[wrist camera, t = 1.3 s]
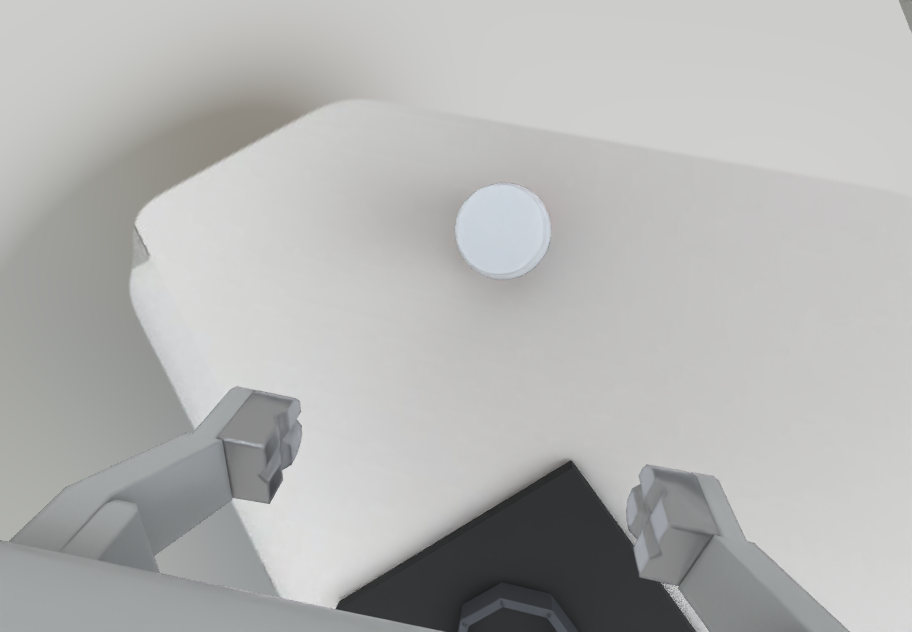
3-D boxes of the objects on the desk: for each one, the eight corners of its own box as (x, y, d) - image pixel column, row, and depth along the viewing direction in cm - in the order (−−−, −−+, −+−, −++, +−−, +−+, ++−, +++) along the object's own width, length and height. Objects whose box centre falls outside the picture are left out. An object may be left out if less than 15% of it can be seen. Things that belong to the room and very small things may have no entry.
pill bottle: (559, 216, 28) (574, 200, 20) (526, 287, 29) (527, 300, 21) (488, 184, 28) (473, 156, 20) (457, 255, 29) (431, 256, 21)
